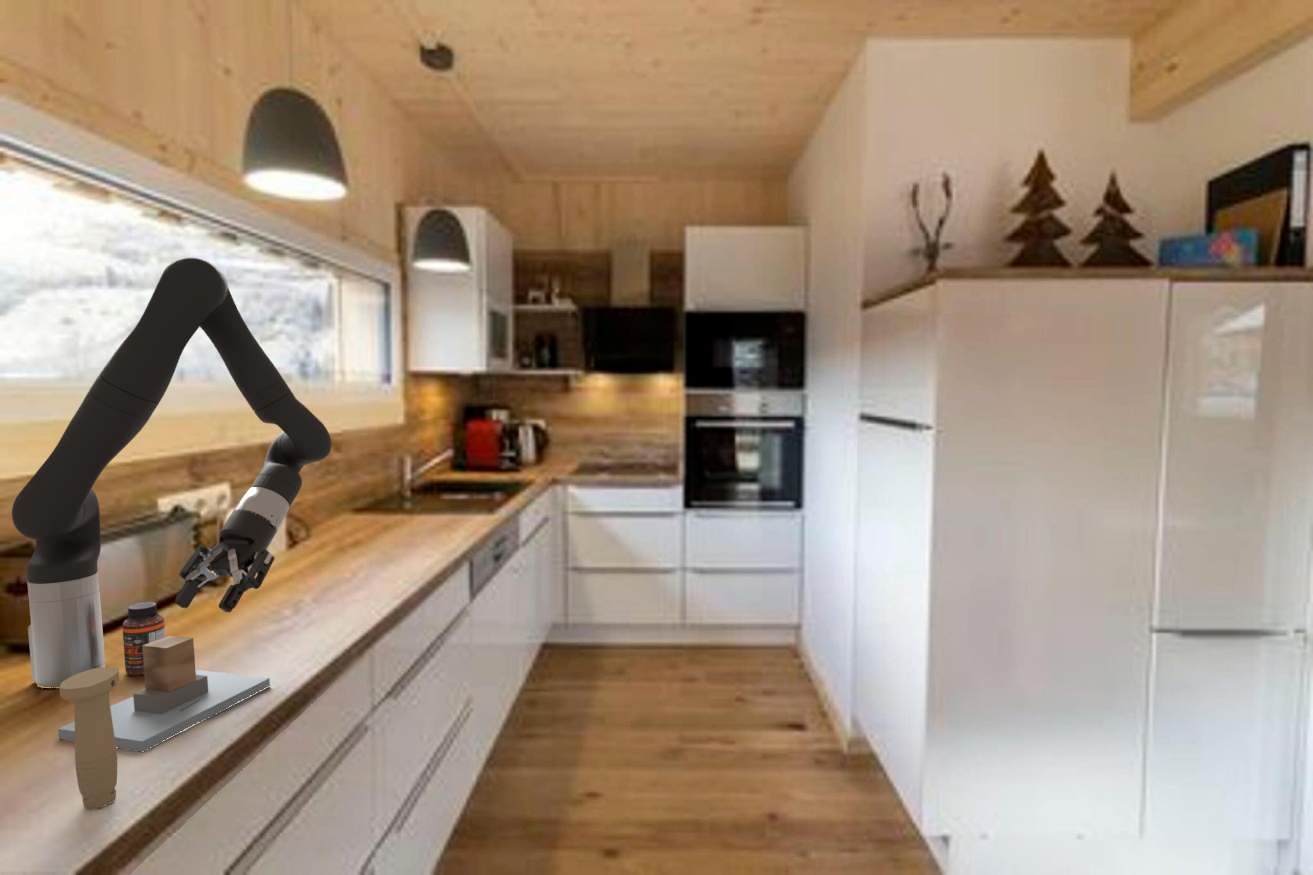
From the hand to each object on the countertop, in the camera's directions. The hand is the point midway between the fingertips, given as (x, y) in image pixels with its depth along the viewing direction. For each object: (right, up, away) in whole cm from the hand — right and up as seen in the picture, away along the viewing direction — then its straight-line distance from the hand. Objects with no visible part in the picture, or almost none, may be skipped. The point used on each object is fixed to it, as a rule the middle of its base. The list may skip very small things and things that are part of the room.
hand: (201, 607), depth 120 cm
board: (-2, -14, -5) cm, 15 cm away
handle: (+6, -16, -30) cm, 35 cm away
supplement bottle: (-16, -13, +12) cm, 24 cm away
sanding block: (-2, -13, -5) cm, 14 cm away
